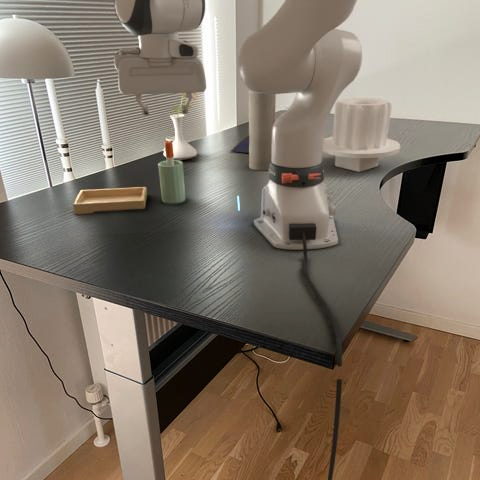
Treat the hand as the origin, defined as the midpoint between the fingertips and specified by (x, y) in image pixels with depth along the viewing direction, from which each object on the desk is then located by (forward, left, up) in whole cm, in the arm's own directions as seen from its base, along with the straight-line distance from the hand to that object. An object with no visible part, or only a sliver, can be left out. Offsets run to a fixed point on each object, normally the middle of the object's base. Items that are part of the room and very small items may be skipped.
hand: (165, 113), depth 115 cm
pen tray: (0, +16, -22) cm, 27 cm away
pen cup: (0, 0, -22) cm, 22 cm away
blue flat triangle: (+56, -38, -22) cm, 71 cm away
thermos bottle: (+29, -28, -22) cm, 46 cm away
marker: (0, 0, -21) cm, 21 cm away
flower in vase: (+45, -3, -22) cm, 50 cm away
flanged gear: (+25, -58, -22) cm, 67 cm away
